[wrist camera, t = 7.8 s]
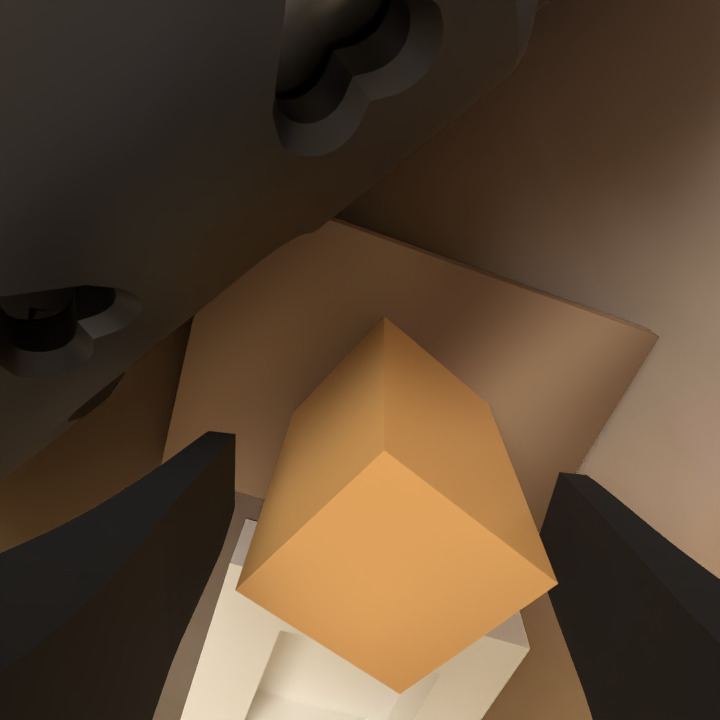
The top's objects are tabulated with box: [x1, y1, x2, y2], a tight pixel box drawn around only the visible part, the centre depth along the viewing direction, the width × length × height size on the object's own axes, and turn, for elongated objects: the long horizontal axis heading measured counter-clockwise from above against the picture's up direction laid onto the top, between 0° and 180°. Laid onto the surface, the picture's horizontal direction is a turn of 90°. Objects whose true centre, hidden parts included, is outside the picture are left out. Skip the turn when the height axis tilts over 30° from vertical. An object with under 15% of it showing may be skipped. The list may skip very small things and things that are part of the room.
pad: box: [161, 217, 659, 532], centre depth 15 cm, size 12×9×1 cm
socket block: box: [181, 519, 530, 720], centre depth 19 cm, size 10×10×2 cm
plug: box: [235, 316, 558, 694], centre depth 12 cm, size 4×4×6 cm
